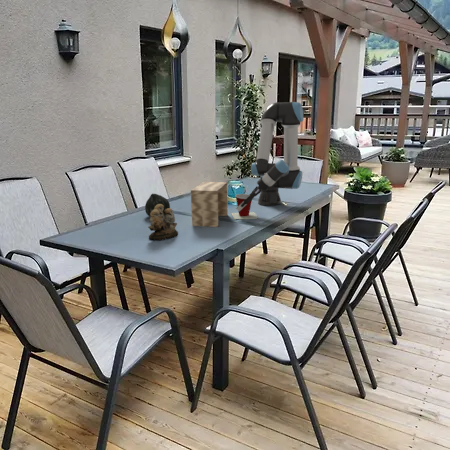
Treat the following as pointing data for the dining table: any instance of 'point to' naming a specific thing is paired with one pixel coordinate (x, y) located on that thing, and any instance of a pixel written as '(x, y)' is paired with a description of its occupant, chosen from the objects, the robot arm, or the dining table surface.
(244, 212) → the plastic cup
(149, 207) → the squash
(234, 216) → the mat
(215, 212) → the oak cabinet
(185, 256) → the dining table surface
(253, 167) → the robot arm
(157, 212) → the owl figurine
